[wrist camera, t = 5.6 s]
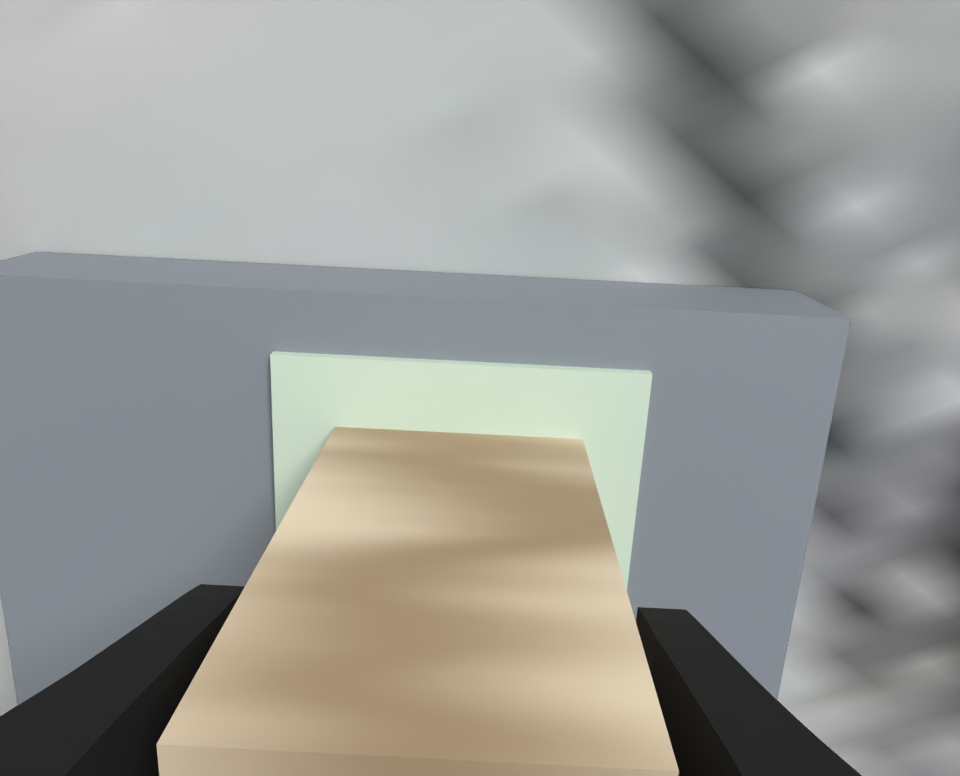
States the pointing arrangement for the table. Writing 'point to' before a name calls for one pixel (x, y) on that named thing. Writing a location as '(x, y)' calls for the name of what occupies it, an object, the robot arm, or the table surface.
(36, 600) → the pocket board
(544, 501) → the beech block
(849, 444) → the table surface
